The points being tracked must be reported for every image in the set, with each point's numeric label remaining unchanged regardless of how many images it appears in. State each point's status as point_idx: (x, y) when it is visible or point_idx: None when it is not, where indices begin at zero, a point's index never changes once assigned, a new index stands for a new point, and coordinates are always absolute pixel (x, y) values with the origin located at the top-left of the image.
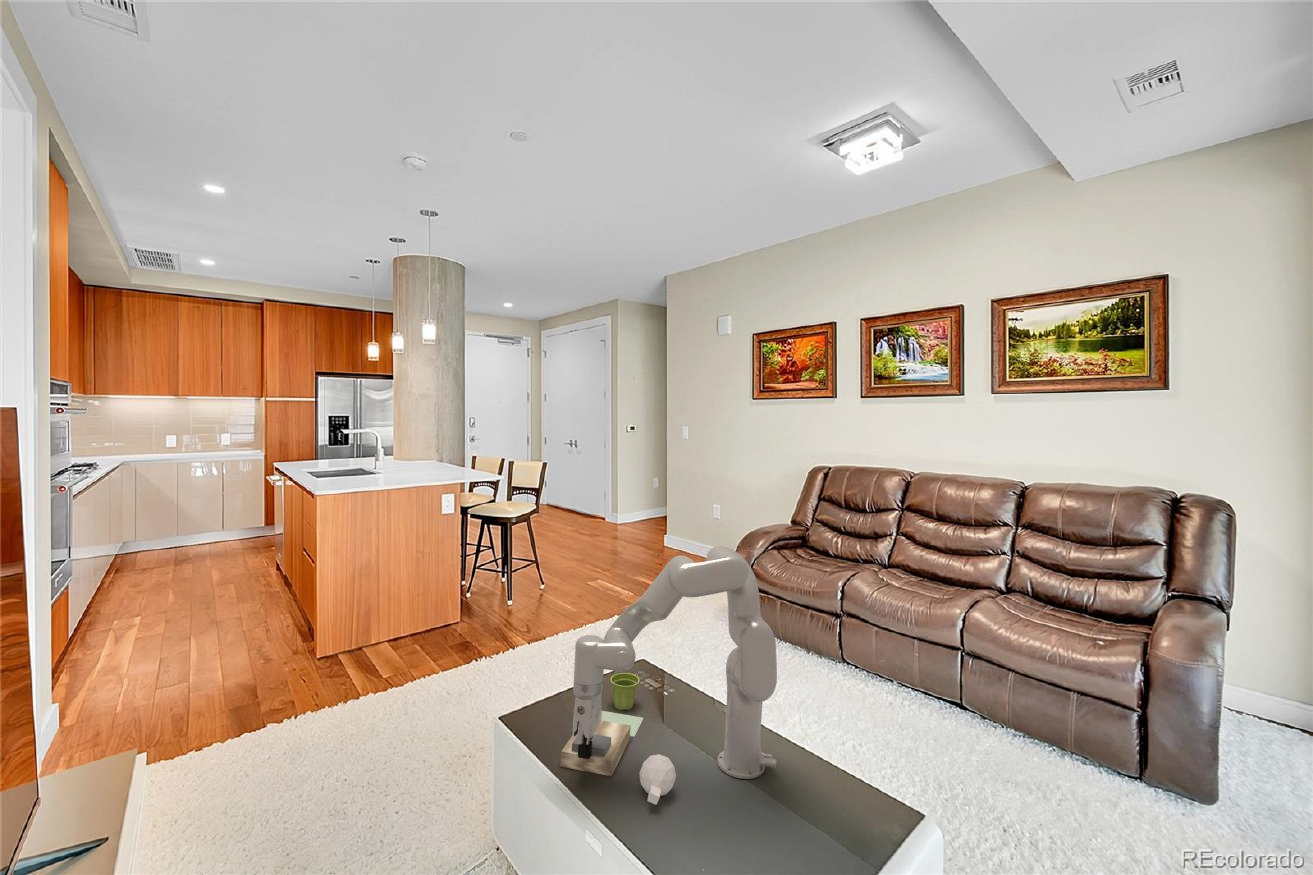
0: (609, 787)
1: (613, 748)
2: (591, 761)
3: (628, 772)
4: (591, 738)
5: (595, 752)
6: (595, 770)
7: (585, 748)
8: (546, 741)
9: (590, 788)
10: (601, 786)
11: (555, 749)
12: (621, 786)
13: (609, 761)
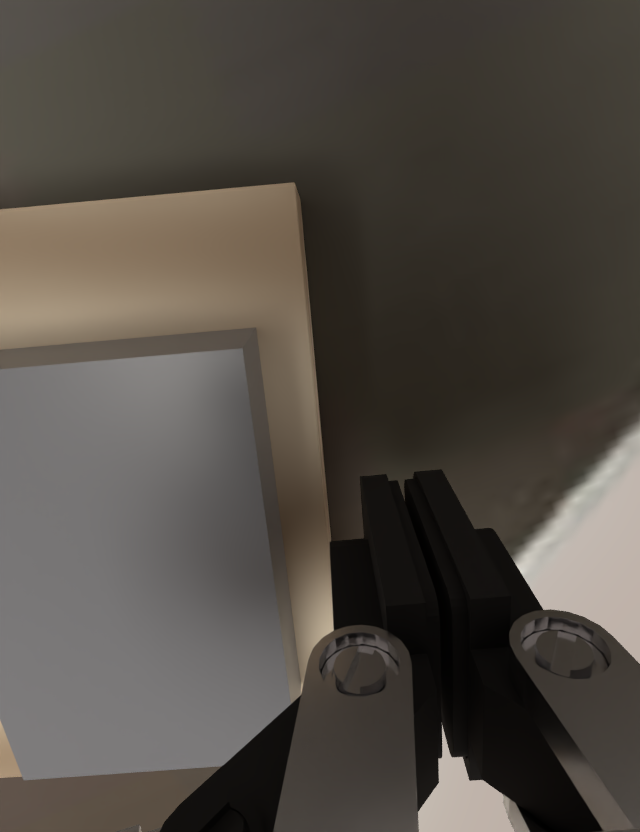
0: (471, 146)
1: (13, 286)
2: (320, 446)
3: (156, 35)
4: (381, 657)
5: (268, 457)
6: (315, 373)
7: (537, 609)
8: (111, 823)
9: (534, 319)
10: (479, 233)
11: None
12: (418, 18)
13: (296, 227)
